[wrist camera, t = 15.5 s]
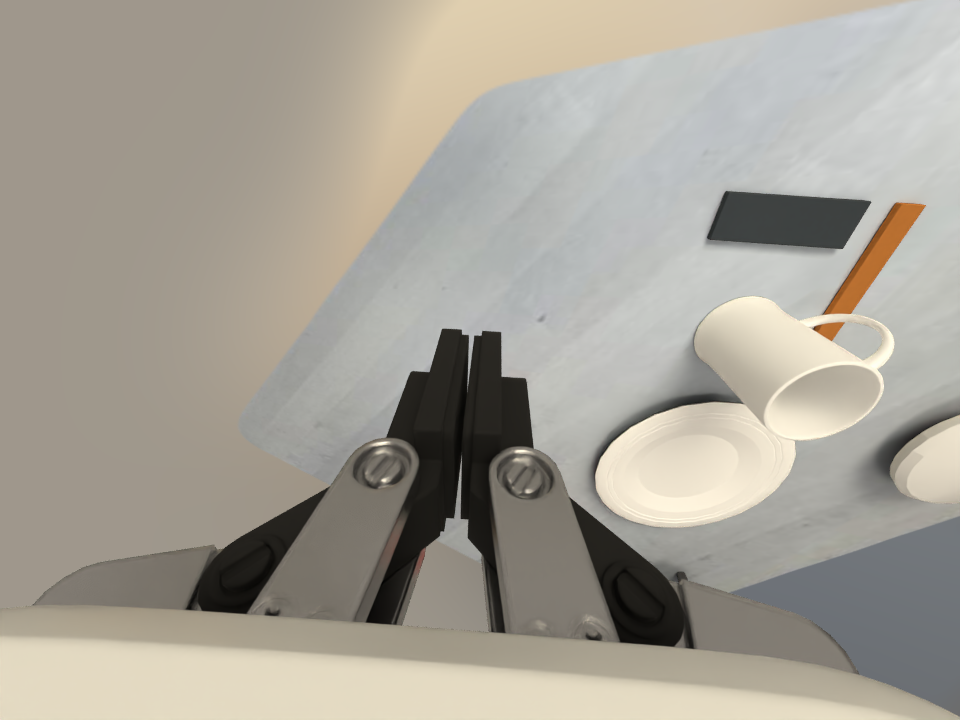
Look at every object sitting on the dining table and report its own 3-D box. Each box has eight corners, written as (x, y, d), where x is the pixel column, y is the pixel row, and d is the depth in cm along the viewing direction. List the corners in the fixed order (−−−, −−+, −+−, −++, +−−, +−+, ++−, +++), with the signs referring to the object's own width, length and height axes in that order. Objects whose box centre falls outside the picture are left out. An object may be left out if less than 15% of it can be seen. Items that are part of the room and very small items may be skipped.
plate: (779, 502, 51) (788, 514, 50) (607, 527, 57) (610, 538, 56) (795, 370, 39) (807, 380, 38) (575, 419, 45) (578, 429, 44)
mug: (811, 262, 33) (946, 317, 23) (822, 330, 36) (944, 403, 26) (683, 321, 37) (750, 389, 27) (705, 377, 40) (771, 456, 30)
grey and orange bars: (725, 191, 30) (729, 192, 30) (919, 204, 30) (926, 205, 29) (657, 363, 40) (659, 365, 39) (802, 374, 40) (806, 377, 39)
